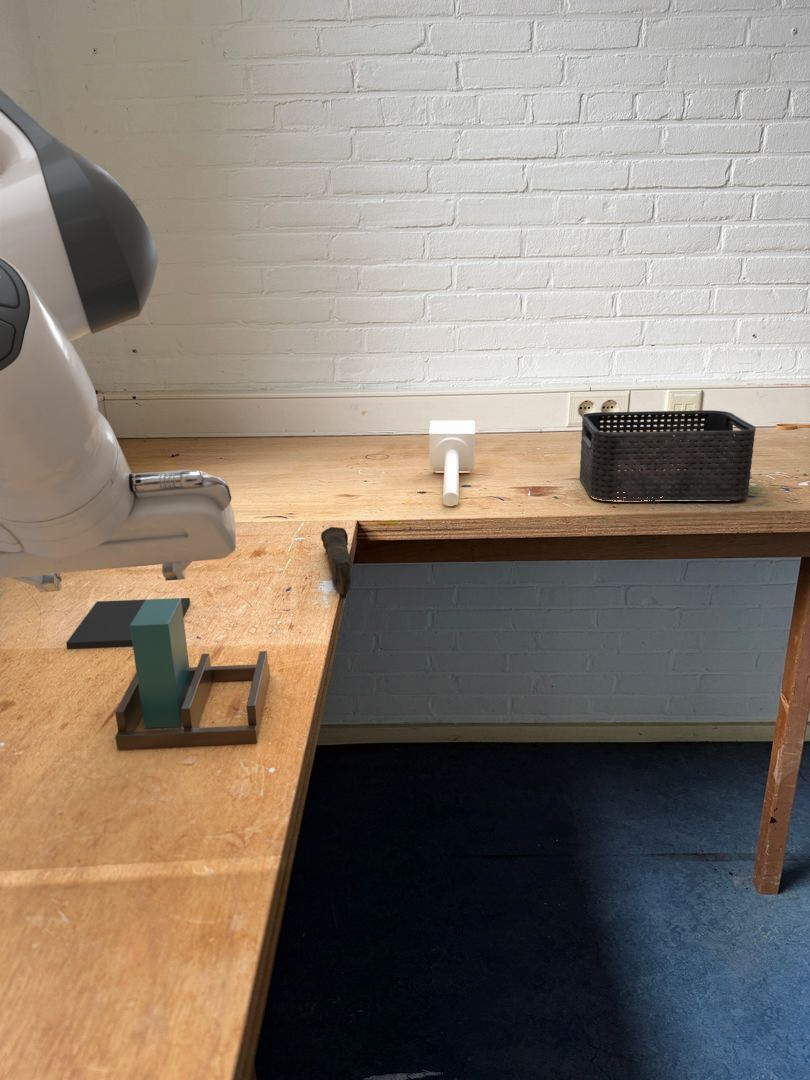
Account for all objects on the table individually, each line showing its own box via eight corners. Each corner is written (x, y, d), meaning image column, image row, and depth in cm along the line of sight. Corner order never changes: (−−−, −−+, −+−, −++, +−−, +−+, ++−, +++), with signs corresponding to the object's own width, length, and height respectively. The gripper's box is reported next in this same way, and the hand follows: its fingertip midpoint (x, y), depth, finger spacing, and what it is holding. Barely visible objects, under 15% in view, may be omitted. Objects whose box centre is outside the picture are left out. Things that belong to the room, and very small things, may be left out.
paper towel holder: (474, 420, 169) (477, 477, 141) (473, 459, 173) (476, 522, 145) (430, 420, 170) (424, 477, 141) (430, 459, 174) (425, 521, 145)
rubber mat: (66, 648, 93) (65, 642, 93) (97, 606, 104) (96, 601, 104) (171, 644, 94) (170, 638, 93) (190, 603, 105) (189, 597, 105)
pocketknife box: (144, 729, 77) (129, 625, 73) (158, 696, 83) (145, 599, 79) (181, 727, 77) (168, 623, 73) (192, 695, 83) (181, 597, 79)
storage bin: (591, 503, 144) (596, 430, 140) (576, 476, 163) (579, 410, 158) (753, 503, 143) (763, 429, 138) (719, 476, 161) (727, 409, 157)
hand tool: (322, 550, 123) (320, 522, 122) (348, 549, 124) (346, 520, 122) (323, 600, 105) (321, 567, 104) (354, 598, 106) (352, 566, 104)
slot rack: (117, 750, 74) (112, 717, 72) (150, 681, 86) (146, 652, 84) (256, 743, 74) (254, 710, 73) (270, 675, 86) (267, 646, 85)
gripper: (223, 431, 53) (247, 530, 65) (-104, 455, 51) (-16, 553, 63) (226, 513, 50) (250, 601, 62) (-120, 542, 48) (-25, 627, 60)
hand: (114, 577), depth 63 cm, fingers open, 8 cm apart
